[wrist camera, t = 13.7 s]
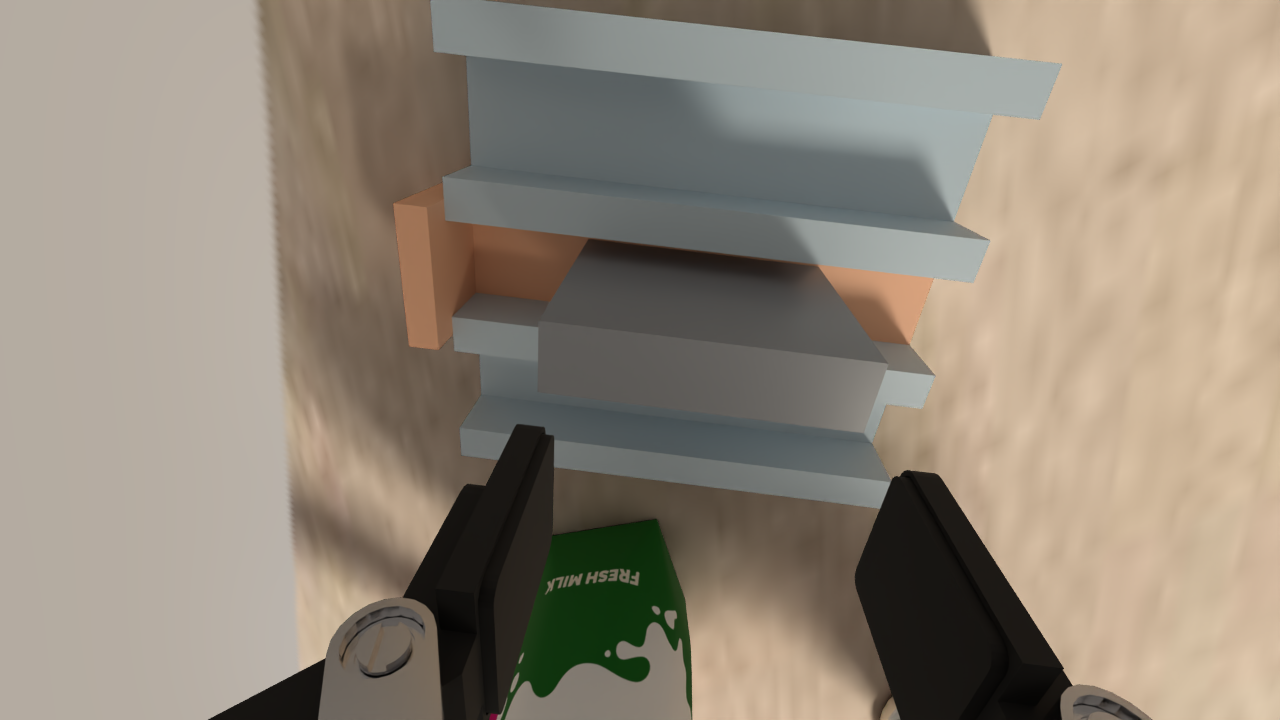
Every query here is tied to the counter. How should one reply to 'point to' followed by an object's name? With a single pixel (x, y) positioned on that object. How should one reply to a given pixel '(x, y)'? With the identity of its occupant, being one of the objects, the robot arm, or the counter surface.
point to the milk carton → (605, 632)
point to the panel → (708, 338)
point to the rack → (696, 213)
